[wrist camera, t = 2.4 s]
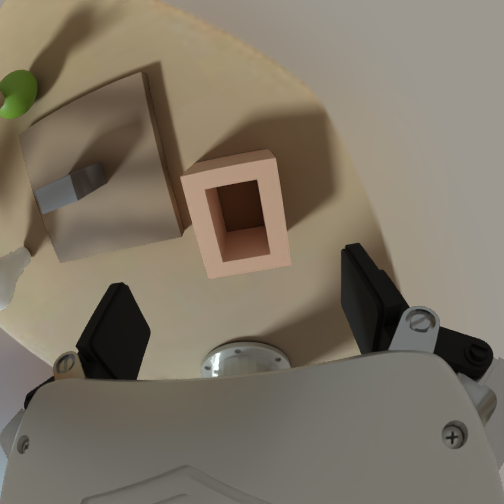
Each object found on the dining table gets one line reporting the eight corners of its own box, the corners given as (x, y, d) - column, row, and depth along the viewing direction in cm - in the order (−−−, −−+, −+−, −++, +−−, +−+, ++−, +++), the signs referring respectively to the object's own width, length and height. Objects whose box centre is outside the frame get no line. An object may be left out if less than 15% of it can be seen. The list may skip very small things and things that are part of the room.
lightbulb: (25, 223, 26) (-30, 266, 16) (50, 261, 28) (2, 313, 18) (8, 244, 27) (-40, 286, 17) (31, 278, 29) (-12, 327, 20)
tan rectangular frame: (268, 148, 24) (275, 157, 18) (282, 234, 28) (291, 265, 22) (194, 163, 24) (180, 176, 19) (215, 246, 28) (208, 278, 23)
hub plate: (184, 230, 27) (167, 266, 21) (66, 256, 28) (36, 289, 22) (146, 73, 20) (114, 61, 13) (26, 132, 21) (-15, 144, 14)
